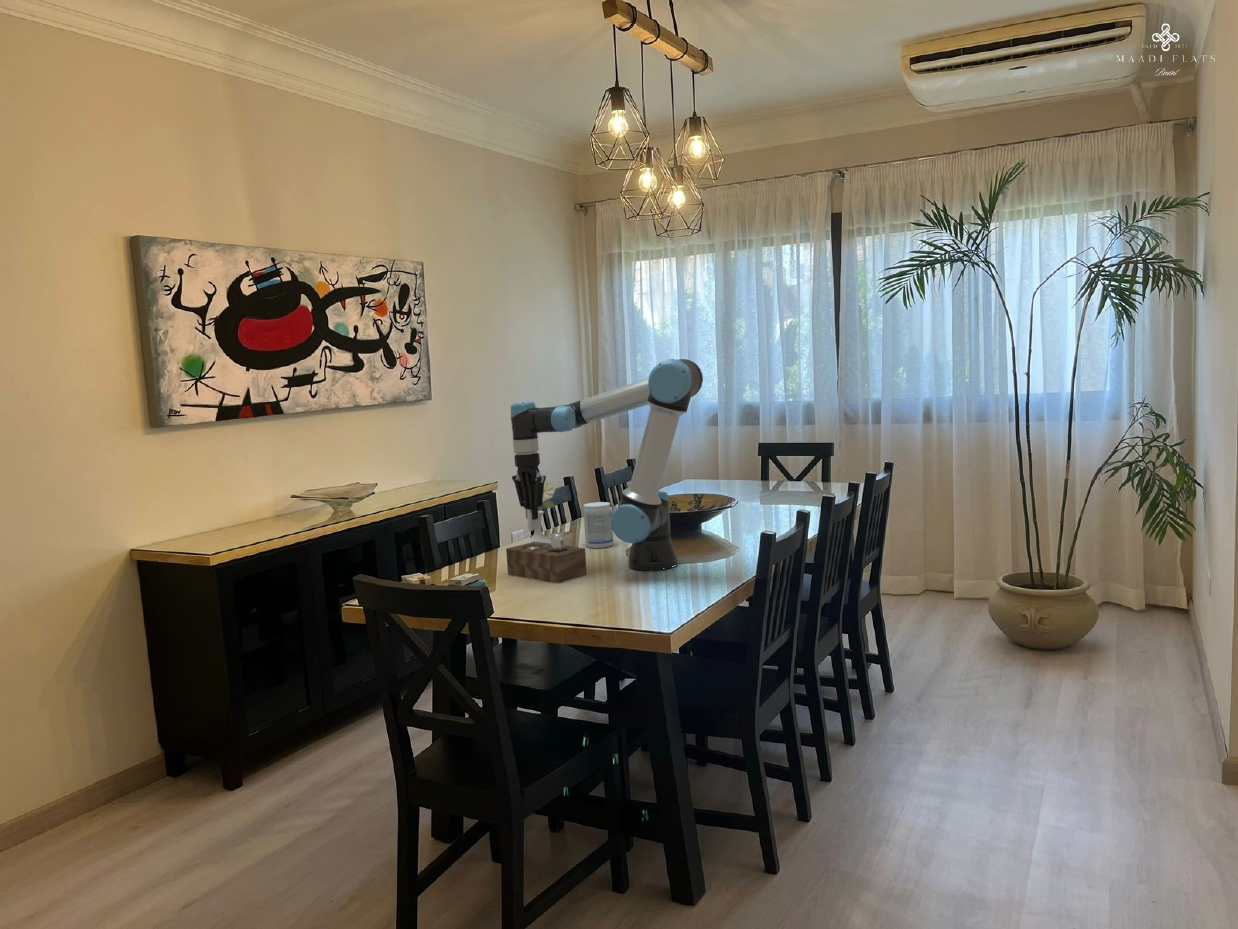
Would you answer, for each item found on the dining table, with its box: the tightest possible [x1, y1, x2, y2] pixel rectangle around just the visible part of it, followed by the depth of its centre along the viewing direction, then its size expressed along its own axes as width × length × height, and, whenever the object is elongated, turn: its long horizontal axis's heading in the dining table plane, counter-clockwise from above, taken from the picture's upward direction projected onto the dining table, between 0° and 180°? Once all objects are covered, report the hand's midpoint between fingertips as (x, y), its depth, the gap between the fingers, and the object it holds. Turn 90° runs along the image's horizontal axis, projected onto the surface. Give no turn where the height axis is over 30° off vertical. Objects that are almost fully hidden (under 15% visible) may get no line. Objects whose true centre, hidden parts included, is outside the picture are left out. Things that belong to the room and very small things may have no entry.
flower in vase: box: [524, 479, 556, 544], centre depth 308 cm, size 13×11×25 cm
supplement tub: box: [582, 501, 614, 549], centre depth 314 cm, size 10×10×15 cm
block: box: [505, 542, 588, 584], centre depth 276 cm, size 22×12×8 cm, turn 48°
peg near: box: [549, 531, 565, 553], centre depth 272 cm, size 4×4×8 cm
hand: (533, 529), depth 278 cm, fingers closed
